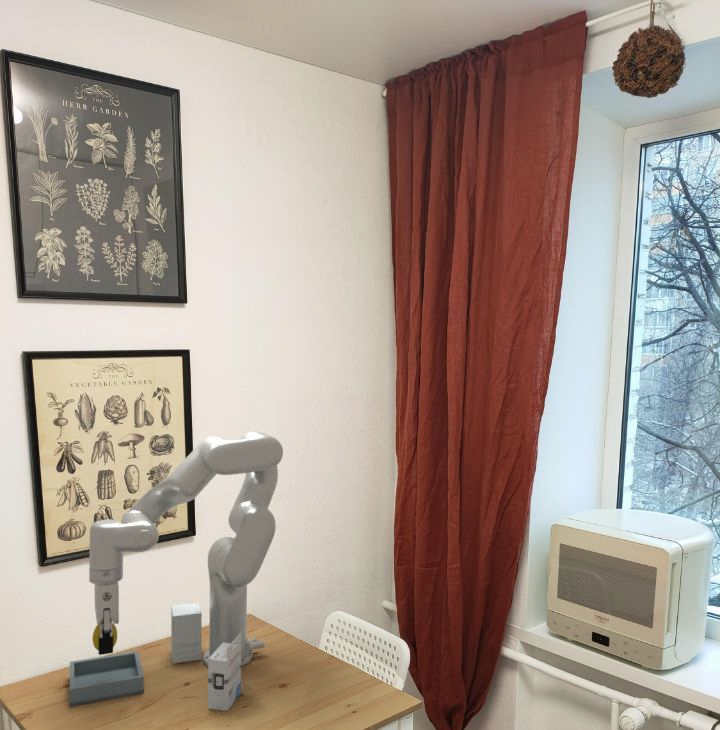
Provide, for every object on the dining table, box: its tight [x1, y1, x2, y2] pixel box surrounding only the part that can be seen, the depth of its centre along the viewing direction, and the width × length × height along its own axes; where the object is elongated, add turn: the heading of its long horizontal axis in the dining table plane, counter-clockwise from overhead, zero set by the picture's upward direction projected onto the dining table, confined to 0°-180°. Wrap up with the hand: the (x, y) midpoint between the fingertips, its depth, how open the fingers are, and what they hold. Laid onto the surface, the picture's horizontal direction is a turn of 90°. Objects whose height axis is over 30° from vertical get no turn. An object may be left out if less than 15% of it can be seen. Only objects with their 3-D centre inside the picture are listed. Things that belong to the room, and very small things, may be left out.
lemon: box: [92, 621, 118, 652], centre depth 162 cm, size 6×6×8 cm
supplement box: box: [170, 602, 203, 665], centre depth 178 cm, size 7×7×13 cm
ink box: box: [207, 633, 242, 712], centre depth 156 cm, size 9×5×15 cm, turn 168°
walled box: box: [69, 650, 145, 708], centre depth 162 cm, size 16×14×4 cm
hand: (105, 646), depth 162 cm, fingers closed on lemon, 5 cm apart
